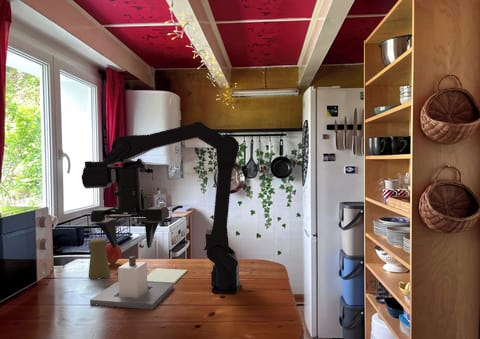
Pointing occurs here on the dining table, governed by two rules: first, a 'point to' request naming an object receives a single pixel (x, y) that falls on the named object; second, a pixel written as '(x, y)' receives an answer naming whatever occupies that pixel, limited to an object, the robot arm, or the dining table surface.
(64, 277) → the dining table surface
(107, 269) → the olive green tapered block
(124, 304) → the gray rectangular frame
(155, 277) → the mat
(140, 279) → the plug
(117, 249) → the onion
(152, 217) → the robot arm
